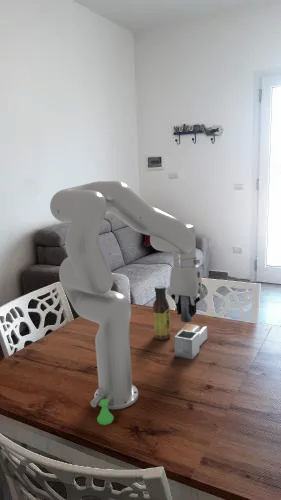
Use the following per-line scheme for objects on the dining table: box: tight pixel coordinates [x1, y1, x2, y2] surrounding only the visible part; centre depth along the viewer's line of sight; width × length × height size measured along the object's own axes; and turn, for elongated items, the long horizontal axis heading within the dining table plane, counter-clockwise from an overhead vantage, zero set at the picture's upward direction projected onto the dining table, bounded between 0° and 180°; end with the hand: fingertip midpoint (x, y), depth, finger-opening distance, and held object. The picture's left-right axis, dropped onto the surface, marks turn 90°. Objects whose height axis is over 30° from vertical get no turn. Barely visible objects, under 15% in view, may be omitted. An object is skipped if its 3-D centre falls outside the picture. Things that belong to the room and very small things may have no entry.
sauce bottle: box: [152, 285, 171, 340], centre depth 152 cm, size 6×6×20 cm
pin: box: [180, 295, 194, 323], centre depth 136 cm, size 4×4×10 cm
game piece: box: [96, 399, 115, 426], centre depth 105 cm, size 4×4×6 cm
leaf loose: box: [198, 325, 208, 348], centre depth 147 cm, size 8×1×4 cm, turn 151°
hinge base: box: [174, 322, 201, 360], centre depth 145 cm, size 18×9×7 cm, turn 151°
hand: (186, 313), depth 137 cm, fingers closed on pin, 4 cm apart
